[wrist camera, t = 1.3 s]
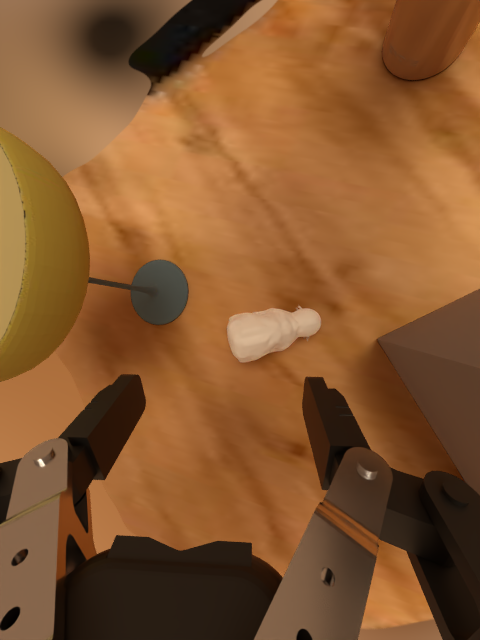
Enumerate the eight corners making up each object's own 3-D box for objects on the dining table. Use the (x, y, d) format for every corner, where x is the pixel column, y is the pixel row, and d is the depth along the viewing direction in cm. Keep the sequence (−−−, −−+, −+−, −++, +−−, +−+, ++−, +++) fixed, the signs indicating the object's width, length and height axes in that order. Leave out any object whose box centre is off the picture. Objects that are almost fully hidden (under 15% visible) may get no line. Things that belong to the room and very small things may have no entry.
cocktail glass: (99, 273, 42) (-178, 211, 17) (179, 216, 38) (-39, 34, 13) (140, 363, 40) (-109, 436, 15) (228, 315, 36) (79, 310, 11)
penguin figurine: (217, 316, 27) (322, 289, 25) (231, 318, 35) (310, 297, 33) (230, 369, 27) (337, 346, 25) (241, 358, 35) (321, 340, 33)
